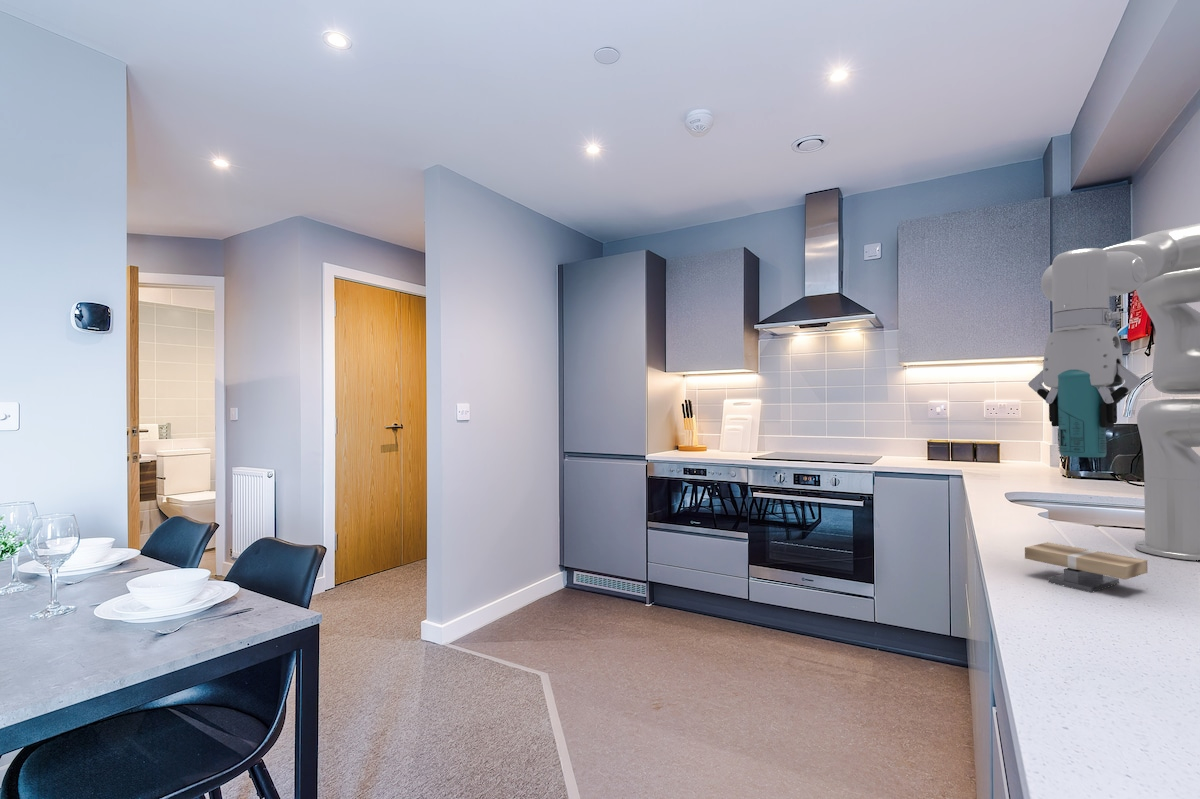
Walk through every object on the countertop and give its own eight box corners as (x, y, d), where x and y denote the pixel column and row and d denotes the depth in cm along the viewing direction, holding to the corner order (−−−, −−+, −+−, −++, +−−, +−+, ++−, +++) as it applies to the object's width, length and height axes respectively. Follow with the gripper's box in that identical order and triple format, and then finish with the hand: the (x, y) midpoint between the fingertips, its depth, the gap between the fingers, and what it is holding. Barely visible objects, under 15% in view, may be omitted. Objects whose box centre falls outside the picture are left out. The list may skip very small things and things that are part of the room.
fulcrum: (1076, 574, 102) (1076, 559, 102) (1119, 583, 97) (1119, 567, 97) (1048, 582, 97) (1048, 566, 97) (1091, 592, 92) (1091, 575, 92)
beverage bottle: (1118, 466, 94) (1115, 346, 94) (1078, 466, 94) (1075, 346, 95) (1085, 462, 101) (1083, 350, 101) (1047, 462, 101) (1045, 350, 101)
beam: (1047, 553, 105) (1047, 542, 105) (1147, 572, 93) (1147, 560, 93) (1024, 558, 101) (1024, 547, 101) (1125, 579, 89) (1125, 566, 89)
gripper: (1156, 317, 92) (1158, 428, 92) (1034, 330, 107) (1035, 425, 107) (1136, 313, 88) (1138, 429, 88) (1012, 327, 103) (1014, 425, 103)
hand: (1081, 425), depth 97 cm, fingers closed on beverage bottle, 6 cm apart
